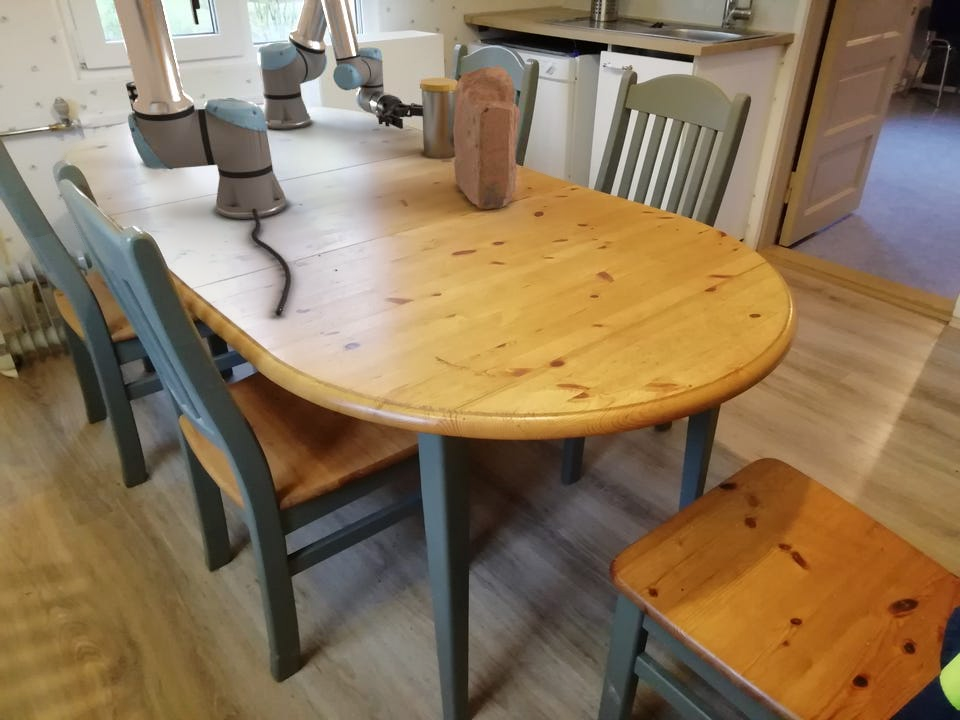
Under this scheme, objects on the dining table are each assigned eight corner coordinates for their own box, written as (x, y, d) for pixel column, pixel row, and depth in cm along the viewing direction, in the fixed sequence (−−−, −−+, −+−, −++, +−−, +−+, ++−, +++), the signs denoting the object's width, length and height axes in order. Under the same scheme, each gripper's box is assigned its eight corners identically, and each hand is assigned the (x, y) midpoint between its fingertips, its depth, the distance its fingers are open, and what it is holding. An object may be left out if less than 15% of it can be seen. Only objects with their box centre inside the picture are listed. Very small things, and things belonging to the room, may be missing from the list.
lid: (436, 93, 181) (435, 86, 180) (412, 87, 187) (412, 80, 186) (465, 88, 186) (465, 82, 185) (441, 82, 193) (441, 76, 192)
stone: (526, 207, 159) (530, 77, 145) (480, 212, 156) (479, 80, 142) (495, 182, 177) (496, 64, 162) (453, 186, 174) (450, 66, 159)
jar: (437, 160, 191) (436, 88, 180) (417, 153, 196) (414, 82, 186) (463, 154, 196) (462, 83, 186) (442, 147, 202) (441, 78, 191)
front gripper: (199, -75, 168) (216, 21, 179) (86, -76, 158) (112, 26, 169) (205, -75, 163) (222, 24, 174) (88, -76, 152) (114, 29, 164)
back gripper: (421, 114, 225) (457, 128, 210) (352, 124, 212) (385, 140, 198) (420, 89, 220) (457, 102, 206) (350, 98, 208) (383, 113, 194)
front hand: (168, 25), depth 172 cm, fingers open, 13 cm apart
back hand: (422, 120), depth 202 cm, fingers open, 13 cm apart
